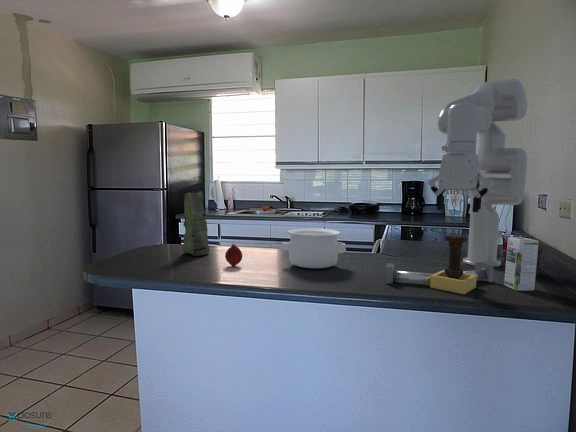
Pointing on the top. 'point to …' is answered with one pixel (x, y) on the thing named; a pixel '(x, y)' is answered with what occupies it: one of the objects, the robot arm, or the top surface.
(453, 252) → the bolt
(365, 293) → the top surface
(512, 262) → the syrup box
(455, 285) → the yoke socket
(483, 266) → the shaft
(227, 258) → the onion
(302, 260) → the pot
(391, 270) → the shaft
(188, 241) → the pouch
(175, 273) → the top surface
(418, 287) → the top surface
